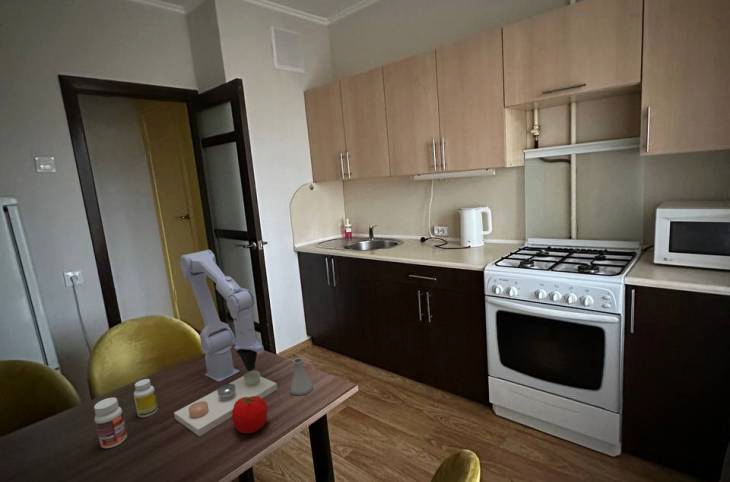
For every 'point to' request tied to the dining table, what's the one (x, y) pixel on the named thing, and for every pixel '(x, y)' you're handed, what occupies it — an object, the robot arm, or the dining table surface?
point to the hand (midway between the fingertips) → (250, 369)
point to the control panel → (222, 405)
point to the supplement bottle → (145, 398)
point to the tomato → (249, 414)
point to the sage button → (251, 377)
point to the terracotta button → (198, 409)
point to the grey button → (226, 390)
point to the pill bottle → (110, 423)
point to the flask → (300, 379)
